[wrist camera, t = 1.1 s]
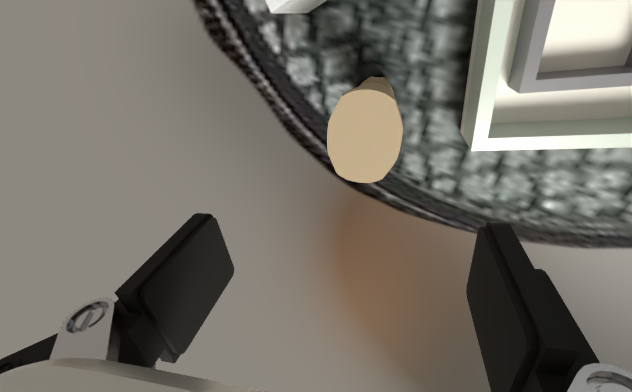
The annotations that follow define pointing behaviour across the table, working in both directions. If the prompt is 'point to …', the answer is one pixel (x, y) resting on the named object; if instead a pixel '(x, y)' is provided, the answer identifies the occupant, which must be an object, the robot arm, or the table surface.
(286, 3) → the small box
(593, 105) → the housing
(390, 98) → the handle
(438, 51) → the table surface
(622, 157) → the table surface
